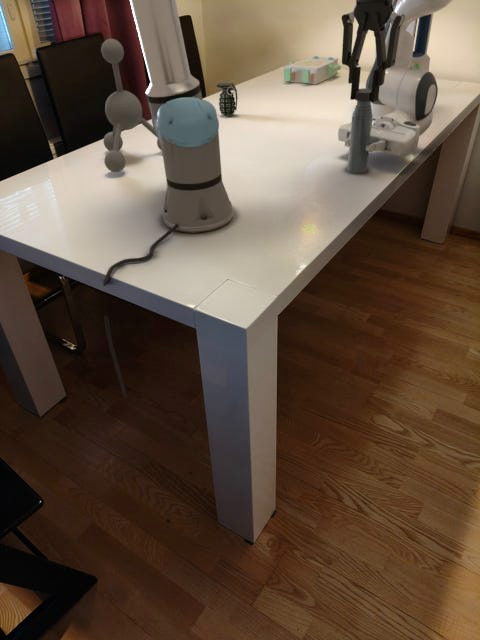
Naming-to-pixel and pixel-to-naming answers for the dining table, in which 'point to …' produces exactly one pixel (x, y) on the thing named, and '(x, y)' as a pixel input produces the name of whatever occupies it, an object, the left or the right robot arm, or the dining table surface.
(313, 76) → the decorative block
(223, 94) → the grenade
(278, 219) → the dining table surface
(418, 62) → the electronic device
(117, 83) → the molecular model
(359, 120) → the bottle
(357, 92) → the cap
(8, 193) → the dining table surface
